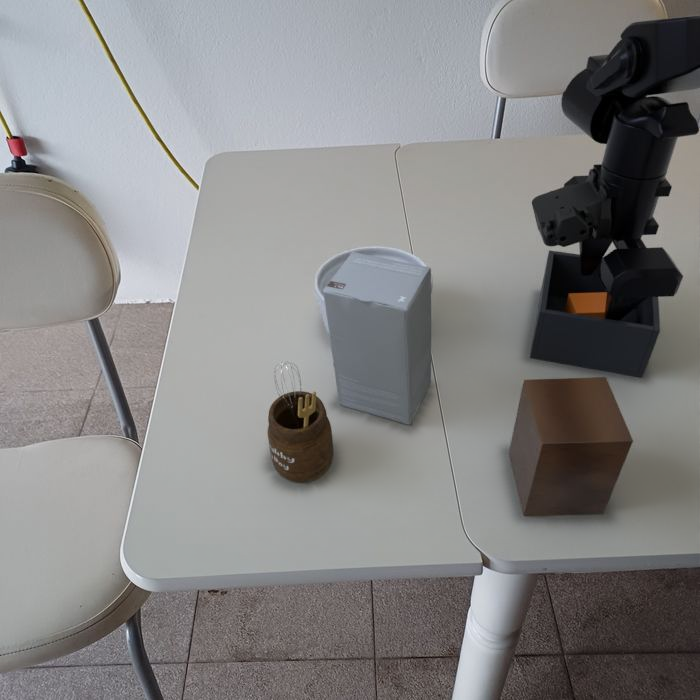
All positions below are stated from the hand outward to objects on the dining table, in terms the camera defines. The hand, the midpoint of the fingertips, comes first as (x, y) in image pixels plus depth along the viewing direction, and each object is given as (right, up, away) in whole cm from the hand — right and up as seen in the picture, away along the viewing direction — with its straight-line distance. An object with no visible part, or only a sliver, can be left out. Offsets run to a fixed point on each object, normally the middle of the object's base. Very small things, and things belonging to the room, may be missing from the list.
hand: (597, 298), depth 70 cm
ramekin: (-24, -3, +6) cm, 25 cm away
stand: (-8, -18, -11) cm, 23 cm away
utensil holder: (-31, -16, -8) cm, 36 cm away
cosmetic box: (-24, -11, -3) cm, 26 cm away
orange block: (0, -3, +3) cm, 5 cm away
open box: (0, -4, +3) cm, 5 cm away
